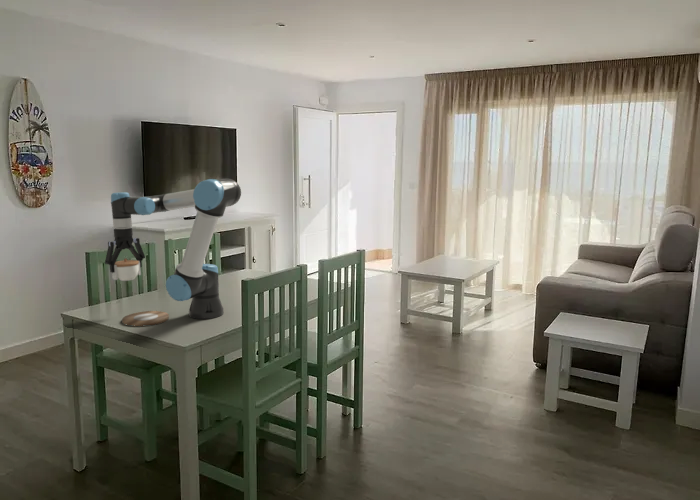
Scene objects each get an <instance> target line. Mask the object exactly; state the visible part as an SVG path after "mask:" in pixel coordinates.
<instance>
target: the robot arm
mask: <svg viewBox="0 0 700 500" xmlns="http://www.w3.org/2000/svg"><path fill="white" fill-rule="evenodd" d="M241 196H242V190H241V187H240V185H239V183H238V182H237V181H235V180H234V179H232V178H228V177H227V178H208V179H204V180H202V181H200V182H198V183H197V184H196V186H195V187H194V188H193V189H188V190H182V191H177V192H176V191H175V192H169V193H163V194H158V195H150V196H149V195H147V196H139V197H137V196H135V197H133V196H132V197H131V196H130V193H129V192H124V191H123V192H122V191H121V192H119V191H118V192H112V193H111V194H110V204H111V213H112V215H111V216H112V226H113V237H114V241H107V250H106V251H107V252H106V254H105V261H104V264H105V265H108V266H109V271H110V273H111V276H112V280H114V281H118V280H119V279H118V277H117V266H116V265H114V264H115V262H117V260H118V257H119V256H120V253H121V252H122V251H123V250H125V249H128V250H129V251H130V253H131V254H132V256H133V257H134V259H135V260H137V261H139V271H138V274H137V276H141V275H142V272H141V271H142V270H141V268H142V266H143V265H142V261H143V259H146V255H145V252H144V251H143V250H144V249H143V248H142V245H141V243H140V242H141V241H140V238H139V237H133V235H134V233H133V228H132V226H133V222H132V215H136V216H137V215H138V216H149V215H151V214H155V213H163V212H164V213H165V212H171V211H175V210H181V209H182V210H183V209H188V208H194V209H195V210H196V215H195V217H194V218H195V219H194V222H193V225H192V228H191V232H190V235H189V238H188V241H187V243H186V247H185V251H184V252H183V257H182V260H181V262H180V263H177V265H176V266H175V270H174V272H173V274H171V275H170V276H168V277H167V278H166V281H165V289H166V292H167V294H168V295H169V297H171V298H172V300H174V301H176V302H183V301H189V300H190V299H191V302H190V305H189V309H188V316H189V317H190V318H193V319H198V320H206V319H215V318H218V317H220V316H222V315H224V311H225V310H224V306H223V304H222V301H221V299H220V294H219V293H220V291H219V289H220V288H219V287H220V286H219V285H220V284H219V273H220V272H219V269H218V266H217V265H216V264H212V263H205V260H206V257H207V255H208V251H209V247H210V245H211V241H212V239H213V235H214V232H215V229H216V226H217V223H218V219H220V218H222V217H223V216H224V214H225V211H226V208H228V207H231V206H234V205H235V204H237V203H238V202H239V200H240V199H241Z"/></svg>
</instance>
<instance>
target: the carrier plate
mask: <svg viewBox="0 0 700 500" xmlns="http://www.w3.org/2000/svg"><path fill="white" fill-rule="evenodd" d="M169 319H170V315H169V313H168V312H166V311H162V310H161V311H160V310H148V311H144V310H143V311H137V312H134V313H133V312H132V313H129V314H127V315H125V316H124V317H122V319H121V320H122V324H123V323H124V324H123V325H125V324H127V325H133V326H132V327H136V326H140V327H144V326H143V325H151V326H155V324H156V325H159V324H162V323H165V322H167V321H168V320H169ZM127 325H126V326H127ZM134 325H135V326H134Z"/></svg>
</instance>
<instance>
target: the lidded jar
mask: <svg viewBox="0 0 700 500" xmlns="http://www.w3.org/2000/svg"><path fill="white" fill-rule="evenodd" d="M114 265H116V266H117V277H118V280H119V281H121V282H128V281H134V280H135V279H136V277H137V276H138V275H137V274H138V271H139V261H137V260H136V259H127V258H124V259H123V260H118V261H117V260H116V262H115V264H114Z"/></svg>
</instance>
